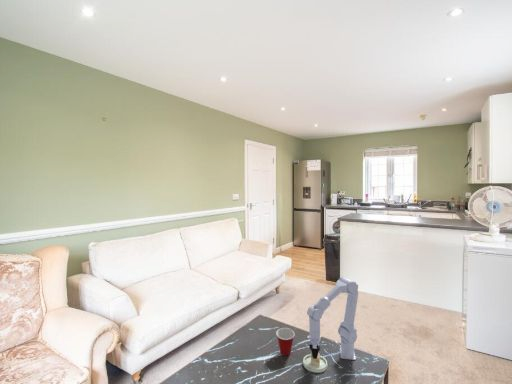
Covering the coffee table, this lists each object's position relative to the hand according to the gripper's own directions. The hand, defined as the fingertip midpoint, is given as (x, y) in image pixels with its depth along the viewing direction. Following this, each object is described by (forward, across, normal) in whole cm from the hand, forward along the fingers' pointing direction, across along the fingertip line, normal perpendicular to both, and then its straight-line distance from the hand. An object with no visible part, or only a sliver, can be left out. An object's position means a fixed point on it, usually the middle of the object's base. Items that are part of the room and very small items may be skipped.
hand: (315, 353), depth 148 cm
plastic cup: (+6, -7, -17) cm, 19 cm away
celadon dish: (+6, 0, 0) cm, 6 cm away
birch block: (+5, 0, 0) cm, 5 cm away
